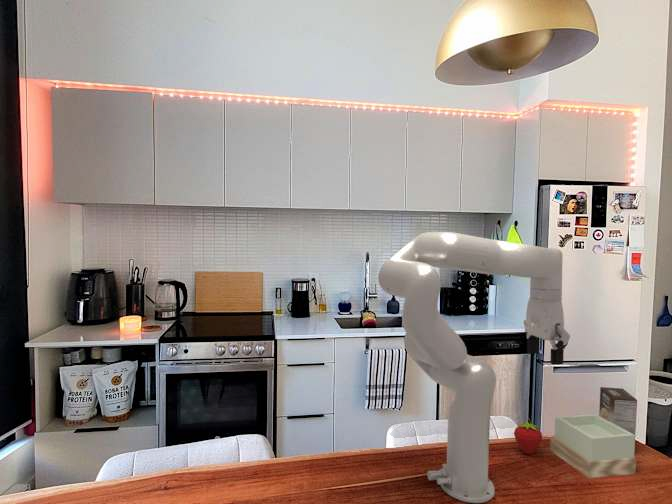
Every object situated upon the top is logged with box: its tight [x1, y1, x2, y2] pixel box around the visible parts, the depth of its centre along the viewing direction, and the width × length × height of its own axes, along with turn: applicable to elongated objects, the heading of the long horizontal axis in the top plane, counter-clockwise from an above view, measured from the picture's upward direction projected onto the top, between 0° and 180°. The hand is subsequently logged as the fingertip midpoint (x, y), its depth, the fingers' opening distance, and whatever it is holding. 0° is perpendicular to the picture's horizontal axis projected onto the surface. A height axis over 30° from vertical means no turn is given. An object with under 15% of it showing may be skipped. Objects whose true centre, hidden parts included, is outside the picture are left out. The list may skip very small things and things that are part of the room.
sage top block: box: [554, 413, 636, 462], centre depth 111 cm, size 13×13×6 cm
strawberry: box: [513, 418, 543, 455], centre depth 114 cm, size 6×8×10 cm
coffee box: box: [598, 386, 638, 452], centre depth 119 cm, size 9×6×16 cm
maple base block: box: [549, 435, 637, 479], centre depth 111 cm, size 14×14×4 cm
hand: (544, 358), depth 109 cm, fingers open, 9 cm apart
